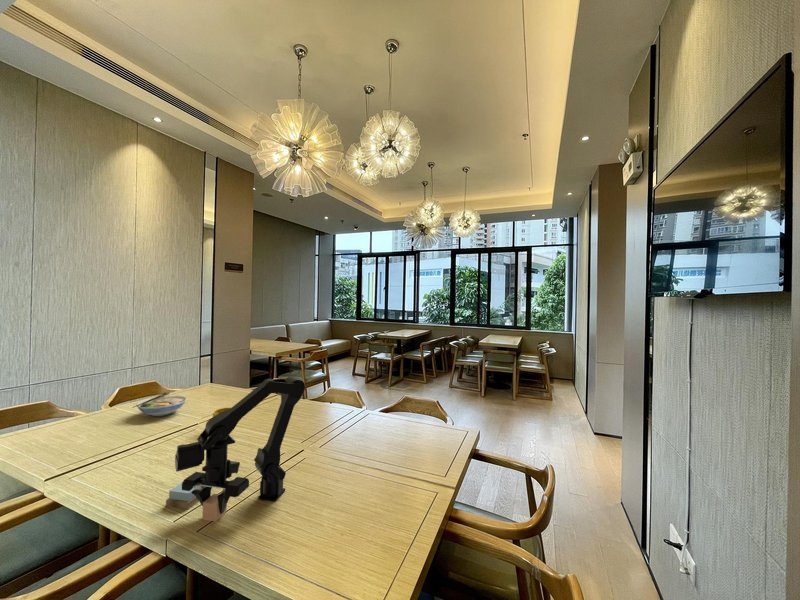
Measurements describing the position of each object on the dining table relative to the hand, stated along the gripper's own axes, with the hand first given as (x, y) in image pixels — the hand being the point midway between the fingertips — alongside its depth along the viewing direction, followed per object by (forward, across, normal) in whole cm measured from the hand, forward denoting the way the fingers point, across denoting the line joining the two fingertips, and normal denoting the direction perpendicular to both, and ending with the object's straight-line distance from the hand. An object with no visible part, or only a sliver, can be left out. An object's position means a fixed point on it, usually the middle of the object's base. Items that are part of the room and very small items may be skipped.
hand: (214, 512), depth 97 cm
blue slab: (-1, +14, -5) cm, 15 cm away
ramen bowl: (+1, +89, -69) cm, 113 cm away
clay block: (+1, 0, 0) cm, 1 cm away
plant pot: (+1, +41, -57) cm, 70 cm away
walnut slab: (+2, +14, -5) cm, 15 cm away
